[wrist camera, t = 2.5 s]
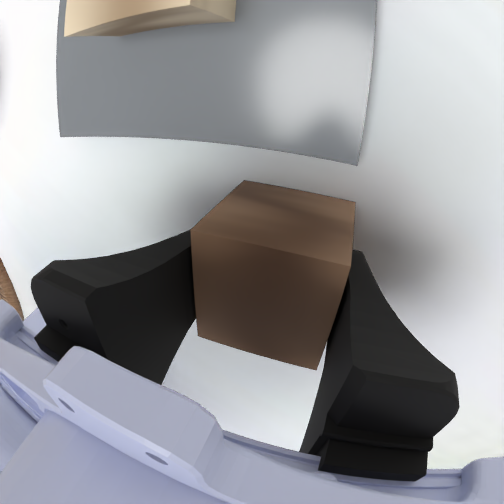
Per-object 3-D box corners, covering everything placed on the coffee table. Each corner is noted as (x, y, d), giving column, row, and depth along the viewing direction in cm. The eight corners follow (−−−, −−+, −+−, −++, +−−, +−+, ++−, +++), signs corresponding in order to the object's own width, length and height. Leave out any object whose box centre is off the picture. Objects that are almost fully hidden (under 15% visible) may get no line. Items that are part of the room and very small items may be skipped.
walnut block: (239, 270, 15) (198, 336, 11) (244, 180, 12) (190, 230, 9) (332, 293, 14) (316, 370, 10) (355, 202, 11) (350, 266, 8)
